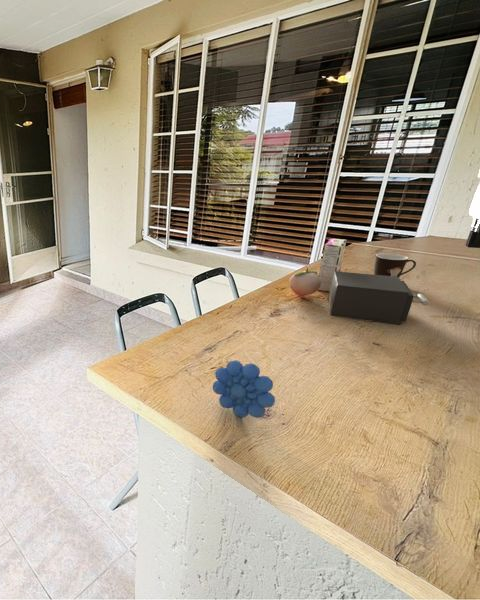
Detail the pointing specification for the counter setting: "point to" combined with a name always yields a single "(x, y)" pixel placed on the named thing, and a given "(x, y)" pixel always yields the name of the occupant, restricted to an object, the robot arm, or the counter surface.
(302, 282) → the decorative fruit
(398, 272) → the coffee mug
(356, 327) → the counter surface
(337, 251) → the candy bar box
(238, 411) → the blue bumpy cluster
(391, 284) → the cabinet
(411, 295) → the drawer
